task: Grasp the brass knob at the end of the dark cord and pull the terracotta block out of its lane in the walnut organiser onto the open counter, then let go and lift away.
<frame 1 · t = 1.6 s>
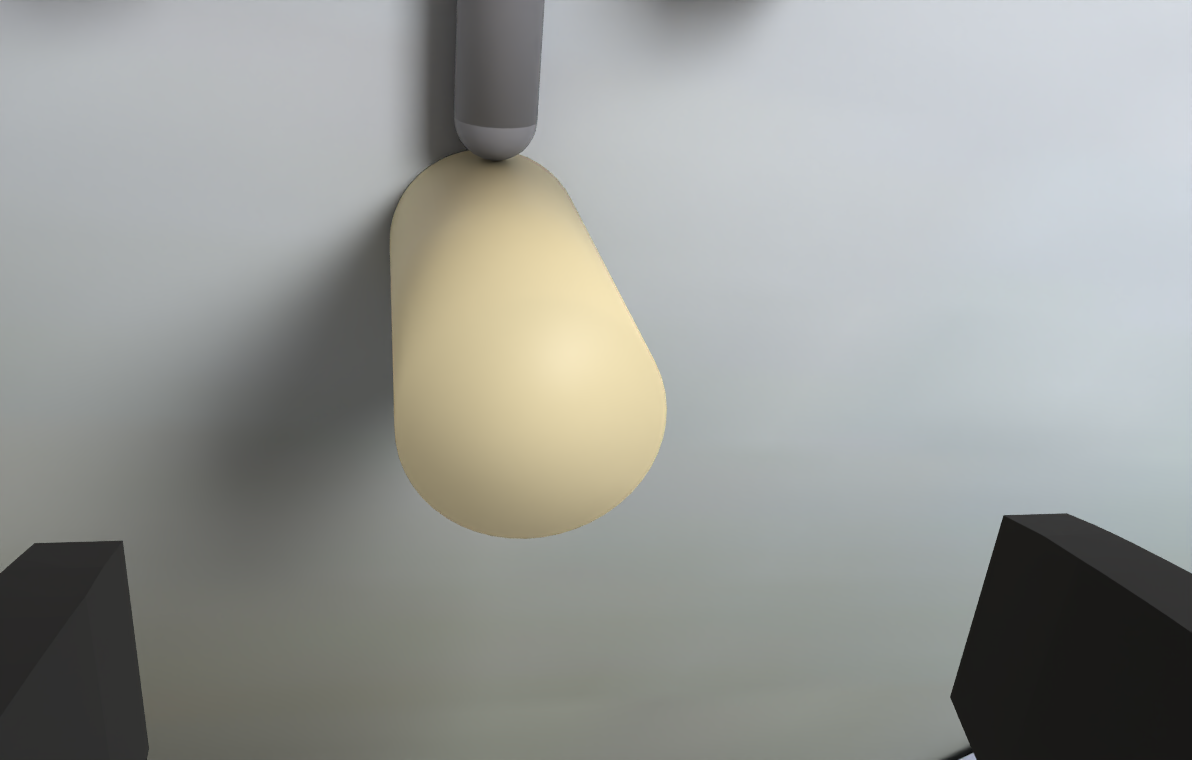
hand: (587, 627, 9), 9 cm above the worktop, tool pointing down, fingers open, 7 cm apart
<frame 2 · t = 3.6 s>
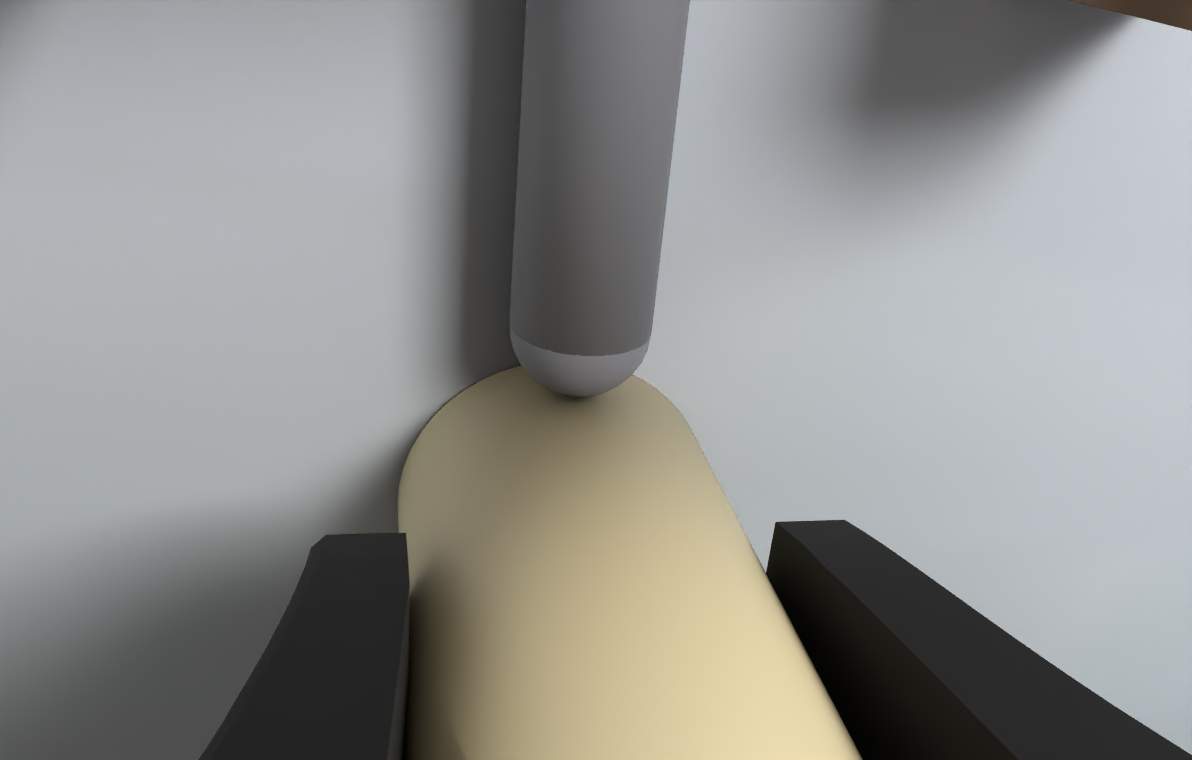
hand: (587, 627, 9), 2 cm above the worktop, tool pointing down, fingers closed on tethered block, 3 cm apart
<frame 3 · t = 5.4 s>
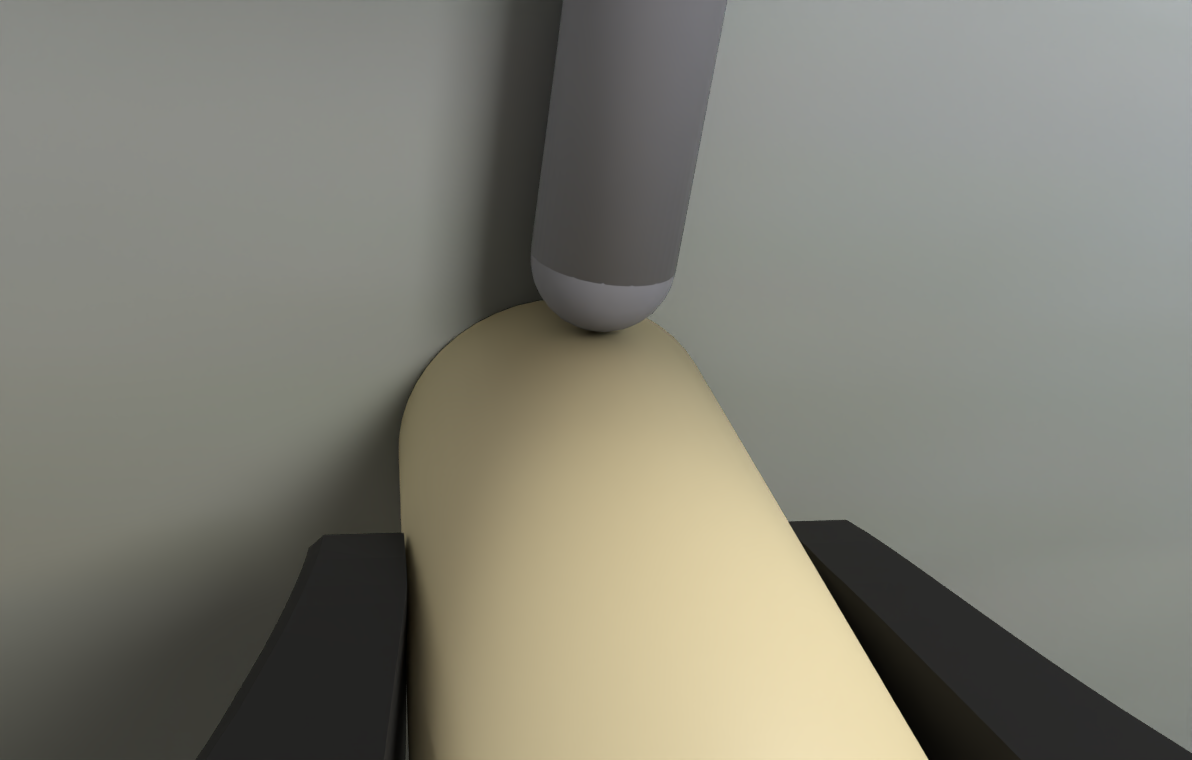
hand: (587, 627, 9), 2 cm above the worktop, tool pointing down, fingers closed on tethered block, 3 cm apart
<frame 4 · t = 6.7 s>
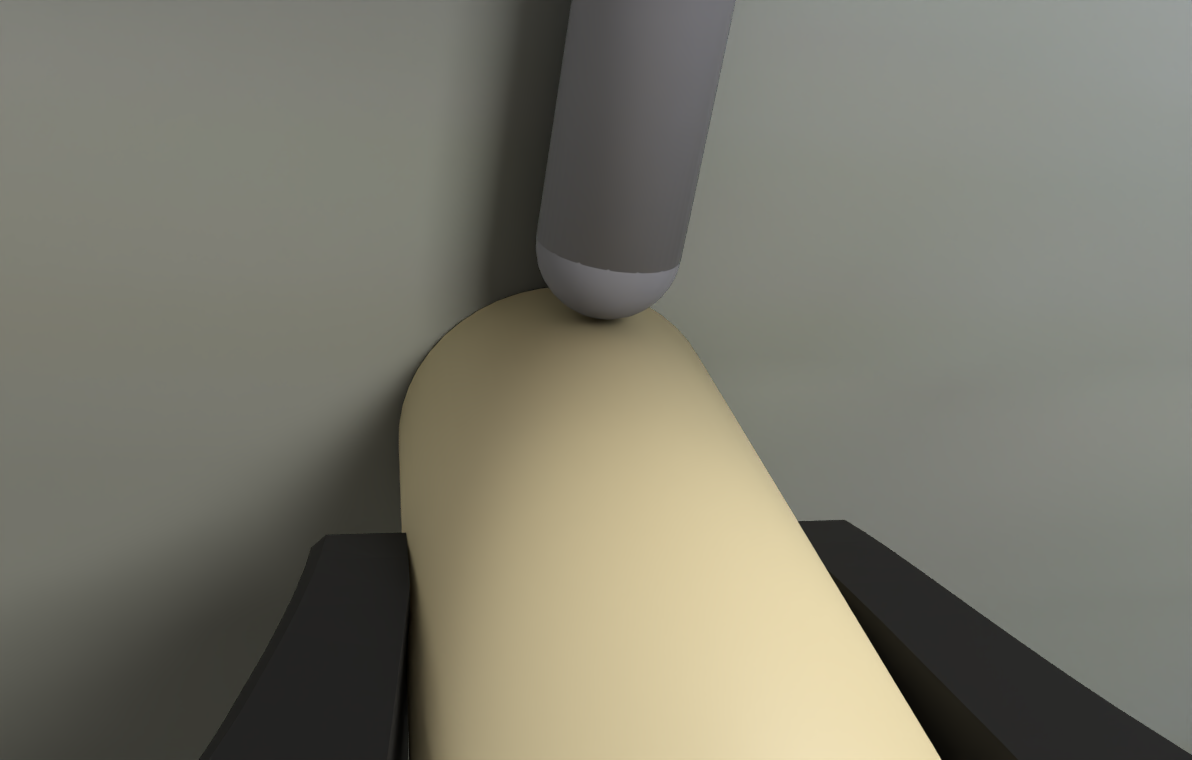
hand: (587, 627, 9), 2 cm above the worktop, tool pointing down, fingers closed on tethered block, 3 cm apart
when the fingers open (2 cm above the worktop, at t = 7.2 s): tethered block stays where it is, on the worktop.
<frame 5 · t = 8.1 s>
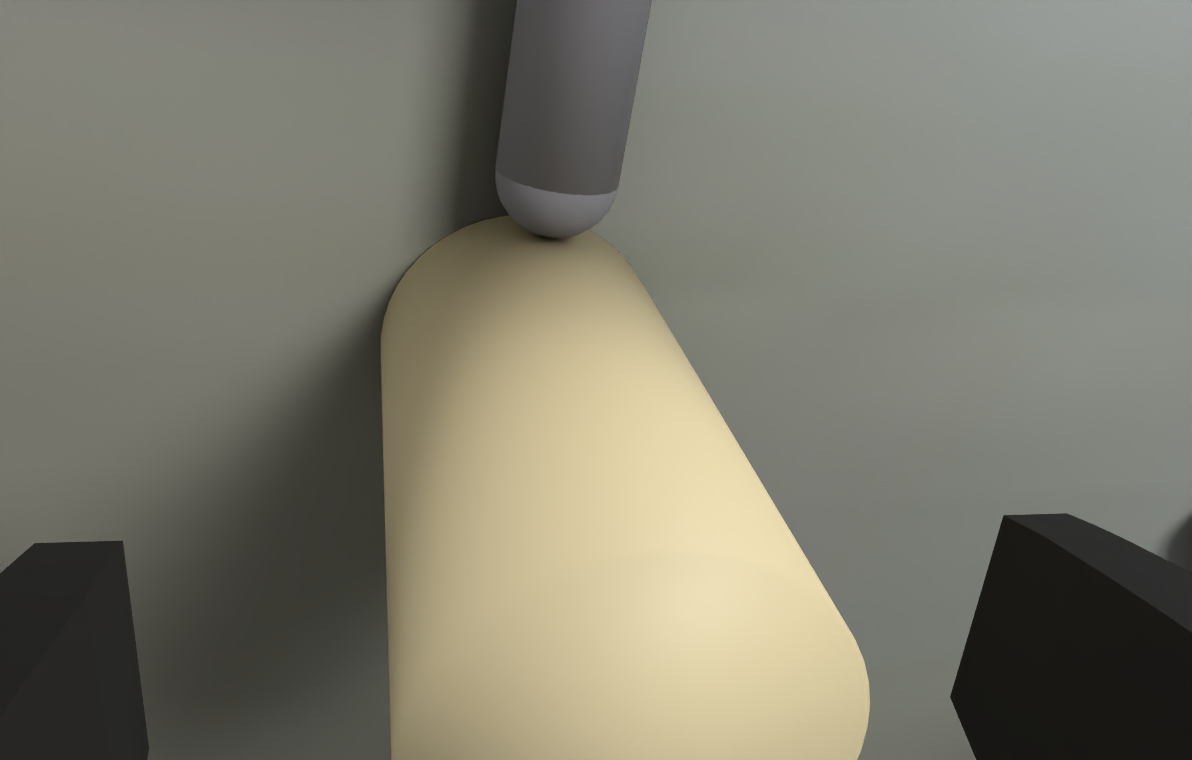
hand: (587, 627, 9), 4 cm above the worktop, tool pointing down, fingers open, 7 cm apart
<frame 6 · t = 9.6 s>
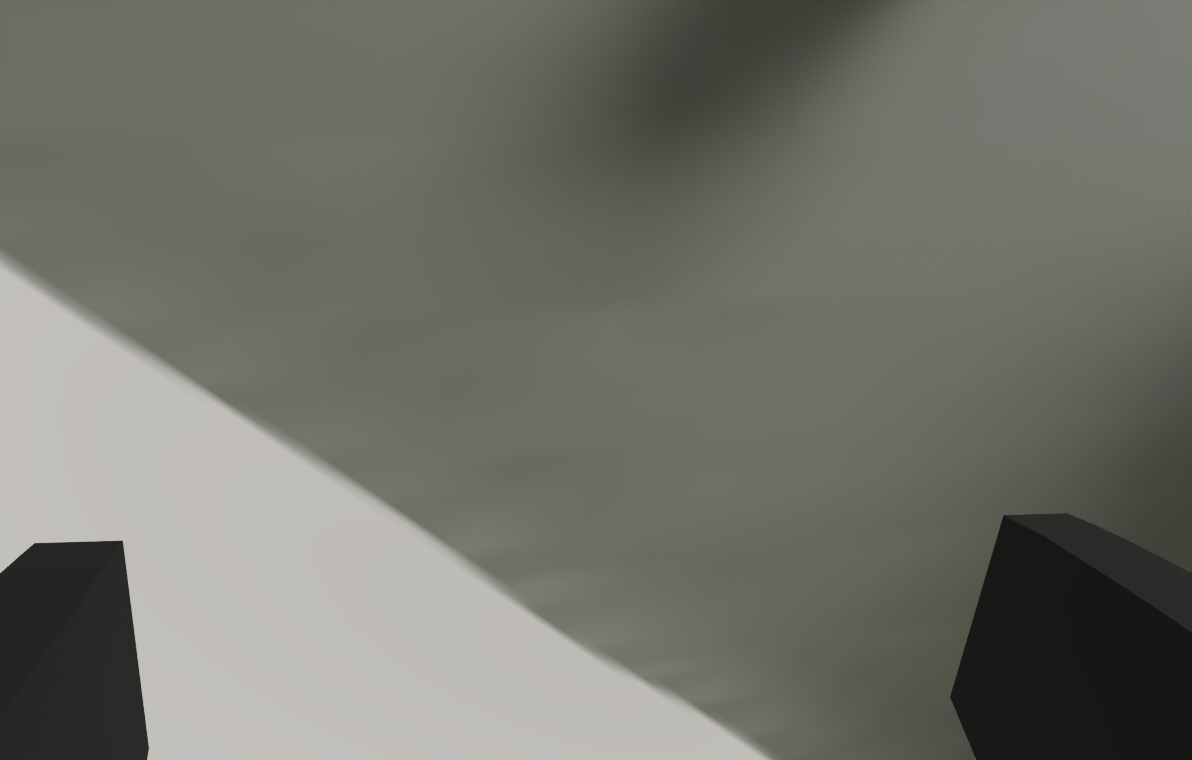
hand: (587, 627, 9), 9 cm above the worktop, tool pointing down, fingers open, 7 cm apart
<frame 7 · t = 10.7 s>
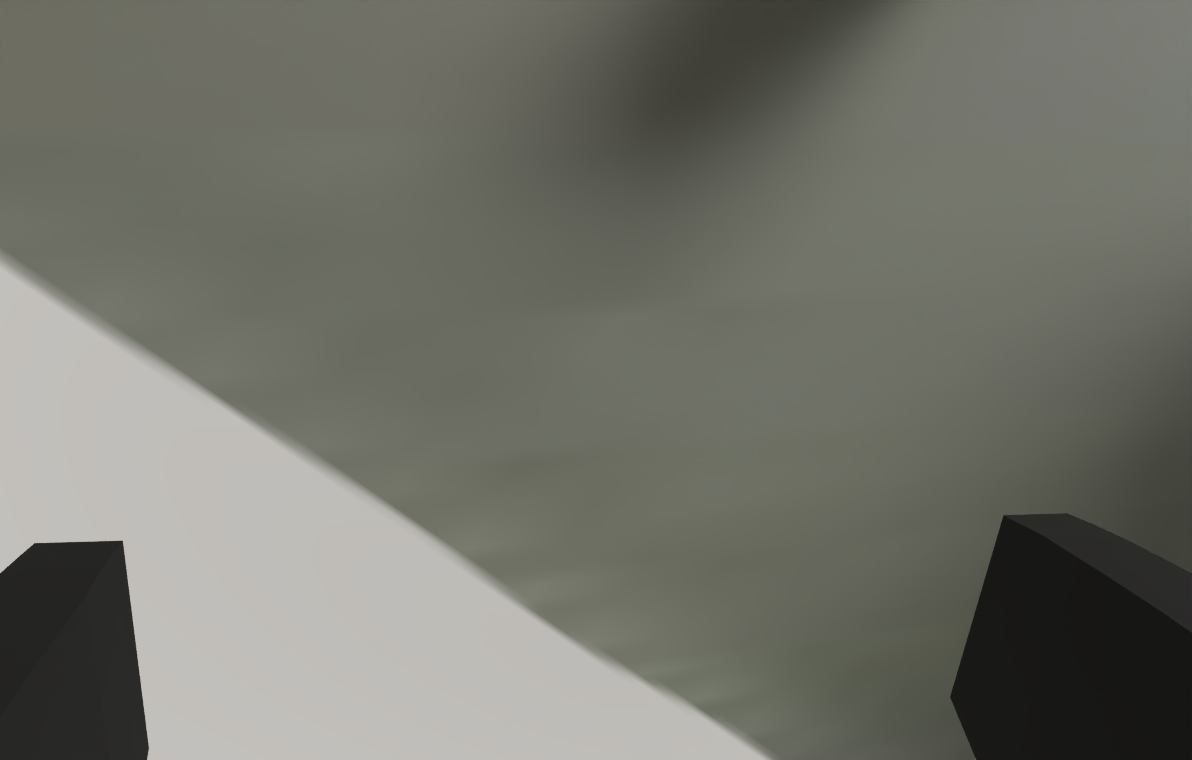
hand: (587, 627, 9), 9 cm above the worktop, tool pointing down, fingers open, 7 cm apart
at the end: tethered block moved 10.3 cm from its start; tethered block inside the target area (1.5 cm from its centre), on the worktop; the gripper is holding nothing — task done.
